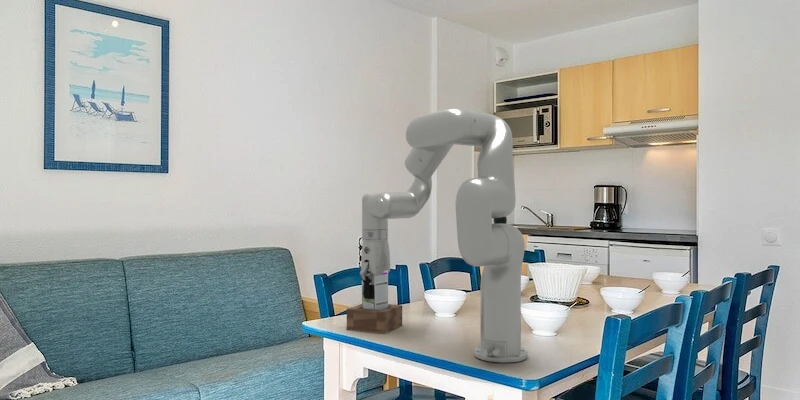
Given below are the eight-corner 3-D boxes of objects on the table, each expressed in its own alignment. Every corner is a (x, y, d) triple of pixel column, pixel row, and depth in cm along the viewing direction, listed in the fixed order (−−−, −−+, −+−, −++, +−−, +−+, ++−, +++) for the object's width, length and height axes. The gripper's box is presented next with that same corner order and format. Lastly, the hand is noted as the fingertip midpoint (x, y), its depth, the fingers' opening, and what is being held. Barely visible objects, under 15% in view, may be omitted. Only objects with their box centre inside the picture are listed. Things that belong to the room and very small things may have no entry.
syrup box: (389, 319, 174) (389, 269, 174) (374, 322, 170) (374, 271, 170) (375, 316, 178) (375, 268, 178) (361, 319, 174) (361, 269, 174)
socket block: (383, 333, 166) (383, 312, 166) (346, 329, 171) (346, 308, 171) (402, 325, 177) (402, 305, 177) (366, 321, 182) (366, 302, 182)
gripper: (372, 237, 164) (372, 302, 164) (399, 234, 180) (399, 293, 180) (348, 237, 168) (348, 300, 168) (377, 233, 183) (377, 291, 183)
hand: (375, 296), depth 174 cm, fingers closed on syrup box, 7 cm apart
